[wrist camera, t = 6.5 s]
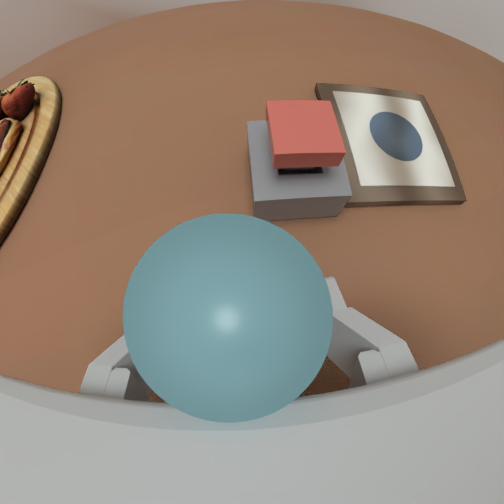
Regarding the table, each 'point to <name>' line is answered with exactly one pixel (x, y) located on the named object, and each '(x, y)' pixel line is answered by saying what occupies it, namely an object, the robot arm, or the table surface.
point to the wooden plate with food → (24, 141)
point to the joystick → (227, 317)
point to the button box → (292, 184)
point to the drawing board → (392, 147)
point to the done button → (303, 134)
